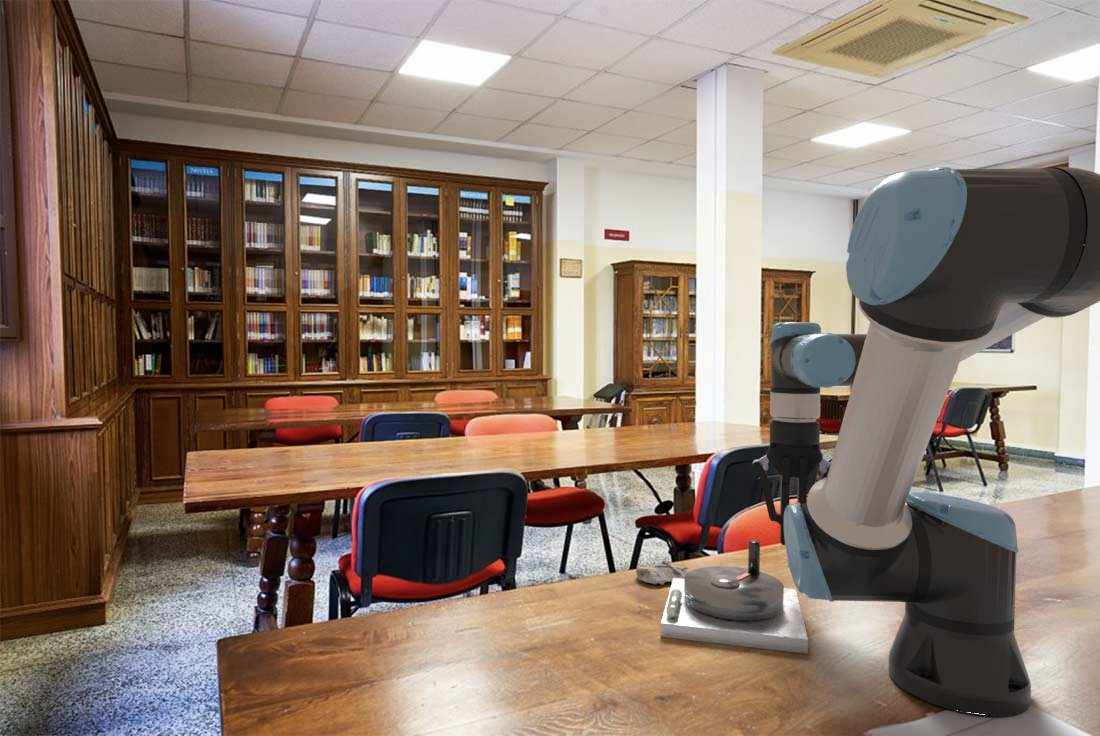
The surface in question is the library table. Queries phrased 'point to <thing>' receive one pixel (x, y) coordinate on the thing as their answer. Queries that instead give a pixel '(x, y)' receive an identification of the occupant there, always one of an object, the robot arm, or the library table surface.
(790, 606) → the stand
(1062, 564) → the library table surface
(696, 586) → the crank handle wheel
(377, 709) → the library table surface
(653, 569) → the stone
